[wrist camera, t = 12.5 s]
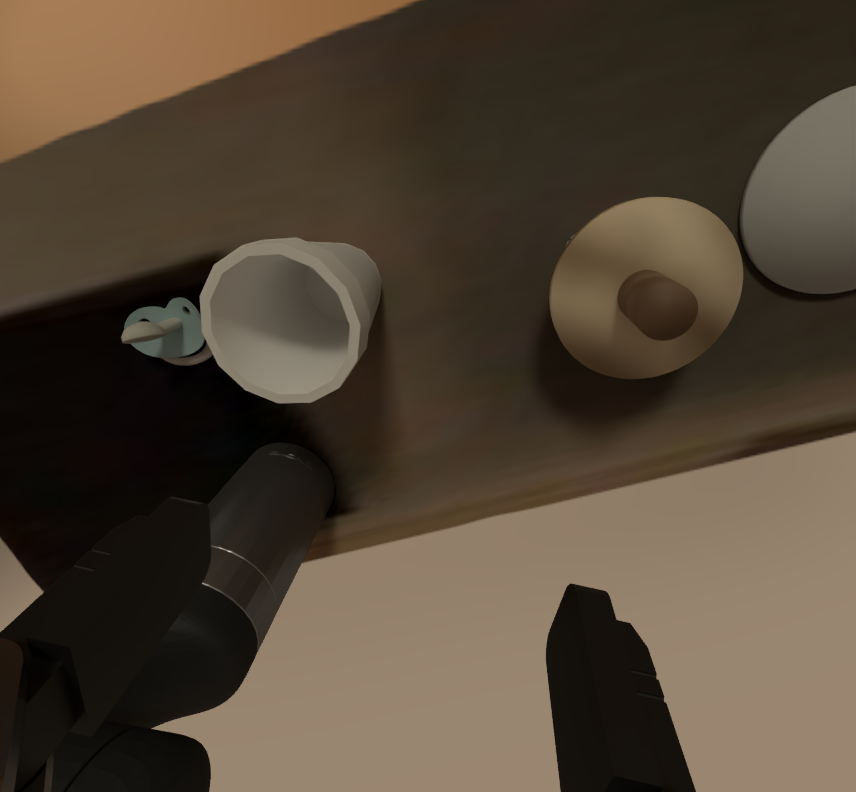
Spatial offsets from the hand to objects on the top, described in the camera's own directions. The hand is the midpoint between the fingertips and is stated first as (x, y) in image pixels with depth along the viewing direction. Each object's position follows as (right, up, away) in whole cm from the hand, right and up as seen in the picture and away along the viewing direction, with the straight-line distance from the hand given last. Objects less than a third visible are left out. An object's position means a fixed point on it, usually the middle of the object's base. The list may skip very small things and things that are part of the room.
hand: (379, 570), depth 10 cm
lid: (+15, +11, +21) cm, 28 cm away
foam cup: (-6, +13, +28) cm, 32 cm away
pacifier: (-21, +10, +32) cm, 39 cm away
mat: (+29, +17, +21) cm, 40 cm away
